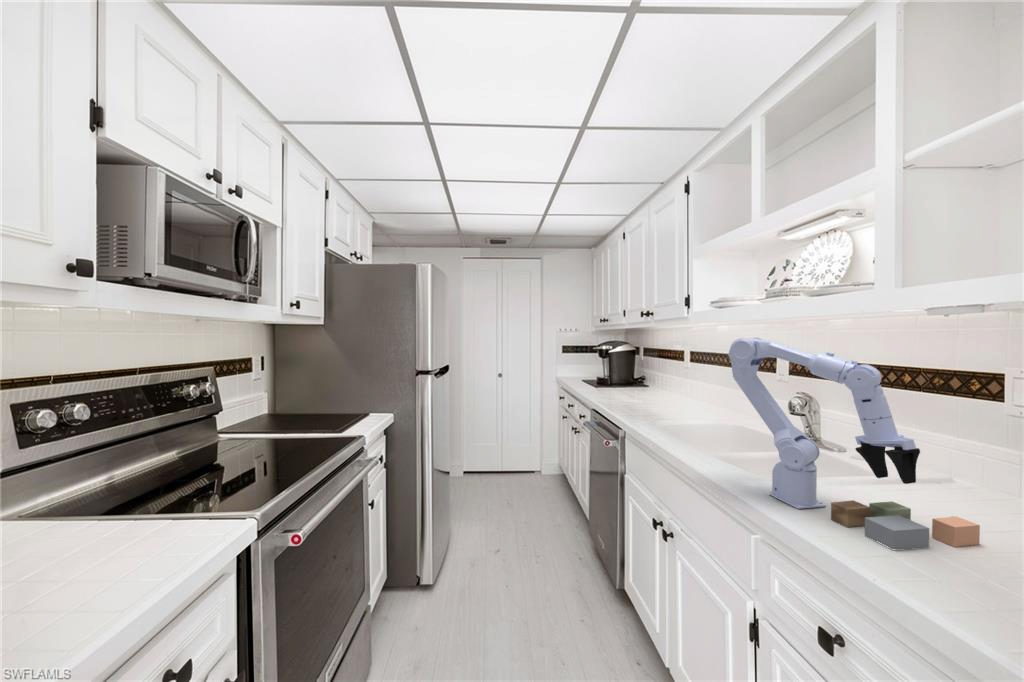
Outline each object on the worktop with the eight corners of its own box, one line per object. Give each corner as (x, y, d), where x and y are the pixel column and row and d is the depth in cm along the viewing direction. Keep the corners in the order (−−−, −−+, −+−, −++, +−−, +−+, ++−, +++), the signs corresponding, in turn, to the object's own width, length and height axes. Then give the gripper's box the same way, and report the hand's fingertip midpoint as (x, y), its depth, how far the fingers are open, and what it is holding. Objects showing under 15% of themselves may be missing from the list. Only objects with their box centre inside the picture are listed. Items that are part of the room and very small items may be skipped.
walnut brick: (831, 519, 98) (831, 502, 98) (853, 517, 99) (853, 500, 99) (847, 527, 94) (847, 509, 94) (870, 525, 95) (870, 507, 95)
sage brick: (869, 520, 97) (869, 503, 97) (891, 518, 98) (892, 501, 98) (886, 528, 93) (887, 510, 93) (910, 526, 94) (910, 508, 94)
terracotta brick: (932, 537, 89) (932, 518, 89) (956, 535, 90) (956, 516, 90) (954, 547, 85) (954, 527, 85) (979, 544, 86) (979, 525, 86)
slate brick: (864, 536, 90) (864, 517, 90) (898, 533, 91) (898, 515, 91) (893, 550, 84) (893, 530, 84) (929, 548, 85) (929, 528, 85)
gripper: (921, 415, 88) (944, 482, 86) (870, 414, 103) (889, 472, 100) (886, 421, 89) (907, 488, 86) (840, 419, 103) (857, 477, 101)
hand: (895, 480), depth 93 cm, fingers open, 7 cm apart
